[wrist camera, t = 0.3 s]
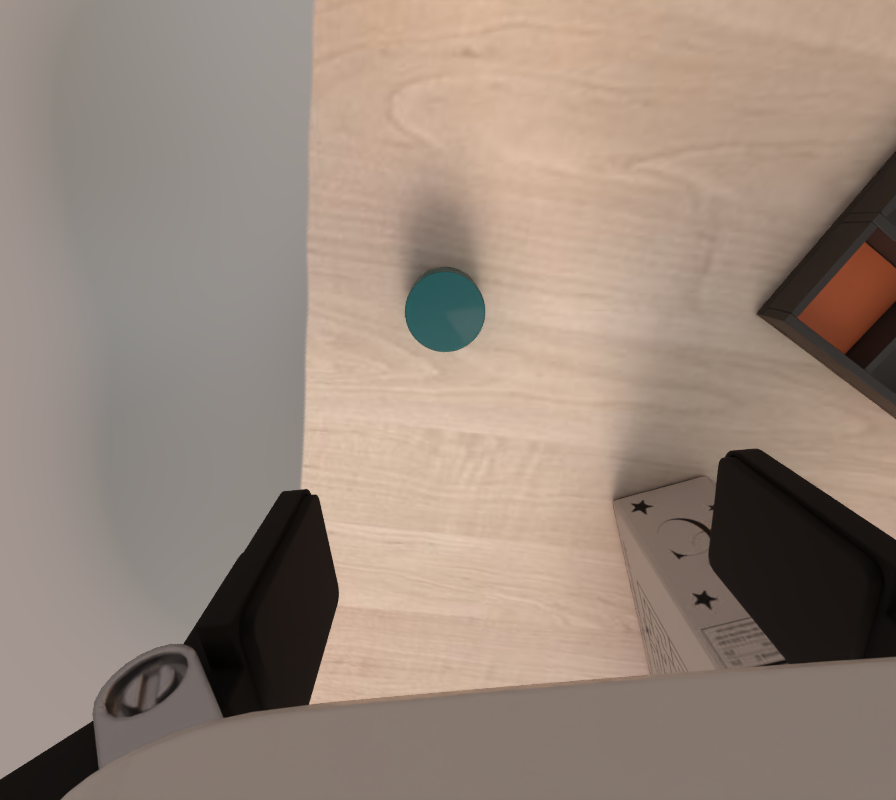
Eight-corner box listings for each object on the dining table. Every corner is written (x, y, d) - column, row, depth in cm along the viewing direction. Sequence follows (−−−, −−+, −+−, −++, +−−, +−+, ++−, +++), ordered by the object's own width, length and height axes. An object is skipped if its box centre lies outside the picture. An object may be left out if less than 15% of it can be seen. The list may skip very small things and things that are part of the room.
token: (433, 252, 29) (432, 255, 26) (494, 292, 30) (501, 300, 27) (395, 315, 31) (390, 325, 27) (455, 352, 32) (457, 366, 28)
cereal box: (732, 667, 43) (1087, 1197, 19) (651, 685, 43) (900, 1219, 20) (706, 473, 35) (1226, 945, 12) (610, 499, 36) (923, 994, 13)
